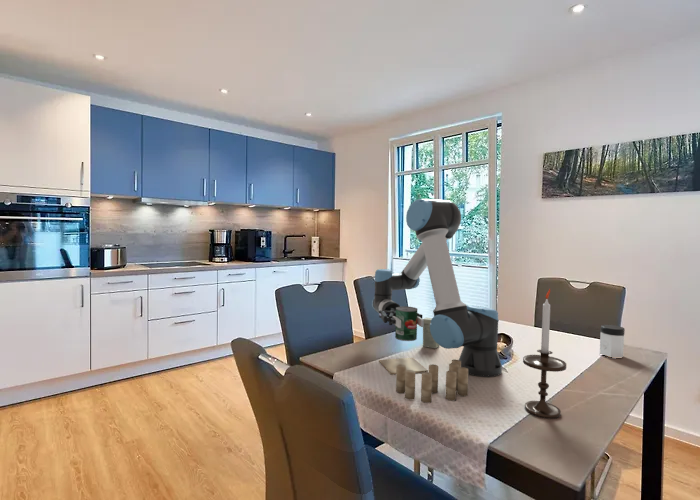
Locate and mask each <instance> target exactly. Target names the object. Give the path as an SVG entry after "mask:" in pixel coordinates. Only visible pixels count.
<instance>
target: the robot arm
mask: <svg viewBox="0 0 700 500" xmlns="http://www.w3.org/2000/svg"><path fill="white" fill-rule="evenodd" d="M405 216H406V217H405V219H406V220H405V221H406V225H407V227H408V228H409V230H412V231H413V232H415V236H416V239H417V240H419V241H421V244H420V245H419V246H418V248H417V250H416V251H415V252H414V254H413V255H412V256H411V258H410V259H409V261H408V263H406V265H405V267H404V268H403V269H402V271H401V272H393V270H392V269H387V268H384V269H383V268H379V269H377V270H376V271H375V274H374V297H373V298H372V299H371V306H372V308H373V310H374V311H375V312H376V313H377V314H378V318H380V319H381V320H382V322H383V324H386V323H387V324H388V326H393V325H394V326H395V327H396V326H397V327H398V328H401V320H400V319H398V318H397V317H396V307H401V305H400V304H399V303H397V302H395V301H393V300H392V298H393V297H392V296H393V291H402V290H412V289H416V288H418V287H419V286H420V281H421V279H420V276H421V275H422V274H423V272H424V271H425V270H426V268H427V270H428V274H429V279H430V284H431V288H432V293H433V297H434V301H435V307H434V309H433V311H432V313H433V317H431V318H432V319H431V323H430V332H431V335H432V337H433V339H434V340H435V342H436V343H437V344H439V347H440V348H444V349H446V350H447V349H448V350H449V349H459V348H461V347H462V350H461V353H460V356H459V357H458V358H459V359H458V360H460V361H461V367H465V368H467V369H468V375H471V376H477V377H482V378H483V377H487V378H489V377H496V376H497V377H498V376H500V375H501V374H502V373H503V372H502V370H503V367H502V363H501V359H500V355H499V352H498V339H499V337H498V336H499V335H498V333H499V321H500V320H499V312H498V311H497V310H496V309H494V308H491V307H486V306H479V305H471V304H468V305H467V304H466V303H465V302H463V301H462V300H461V296H460V293H459V288H458V285H457V284H458V283H457V280H456V276H455V275H456V274H455V271H454V267H453V263H452V258H451V255H450V250H449V246H448V242H447V240H451V239H452V238H453V236H455V234H456V233H457V232H458V229H459V228H460V225H461V221H462V213H461V210H460V208H459V207H458V205H457V204H456V203H455V202H452V201H451V200H447V199H446V200H445V199H430V198H417V199H415V200H413V202H411V204H409V207H408V209H407V212H406V215H405ZM417 326H419V327H421V328H423V327H424V318H423V314H422V313H418V312H417Z"/></svg>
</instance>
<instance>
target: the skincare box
mask: <svg viewBox="0 0 700 500" xmlns="http://www.w3.org/2000/svg"><path fill="white" fill-rule="evenodd" d="M432 318H433V317H425V318H423V319H424V327H422V347H426V348H429V349H430V348H432V349H437V348H439V347H440V345H439V344H437V343H436V342H435V340H434V339H433V337H432V335H431V332H430V323H431V319H432Z"/></svg>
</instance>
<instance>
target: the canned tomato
mask: <svg viewBox="0 0 700 500" xmlns="http://www.w3.org/2000/svg"><path fill="white" fill-rule="evenodd" d="M417 313H418V308H417V307H415V306H414V307H413V306H403V305H402V306H401V305H400V307H396V317H397V318H398V319H400V320H401V328H398V327H397V326H395V330H394V331H395V333H394V337H395V339H396V340H397V341H402V342H414V341H416V340H417V339H418V335H417V334H418V325H417Z"/></svg>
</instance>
